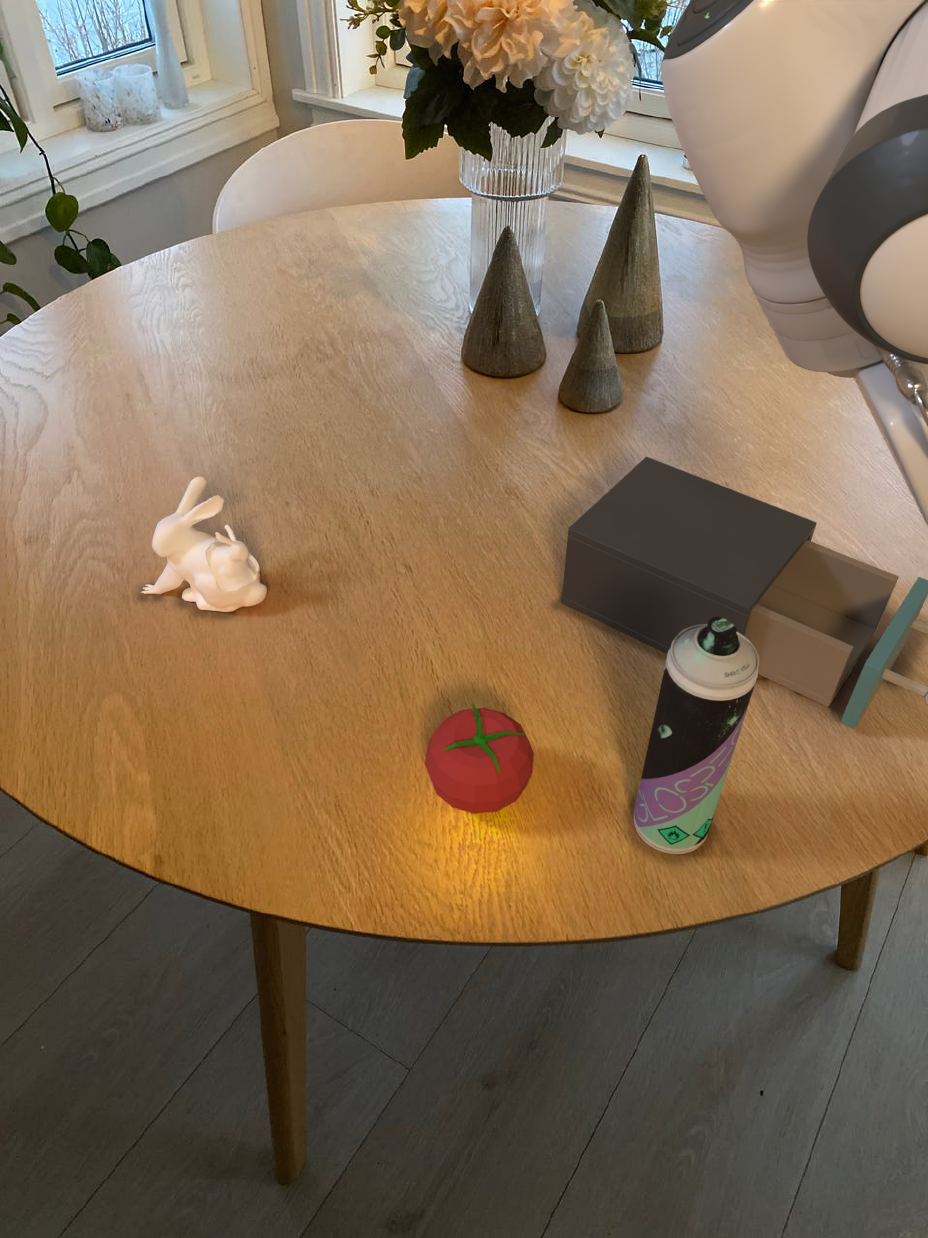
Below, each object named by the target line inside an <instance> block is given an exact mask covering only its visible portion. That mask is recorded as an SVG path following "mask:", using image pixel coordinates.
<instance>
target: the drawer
mask: <svg viewBox="0 0 928 1238" xmlns="http://www.w3.org/2000/svg"><path fill="white" fill-rule="evenodd" d="M899 578H900V577H899V575H896V574H893V573H891V572H889V571H886V570H884V569H881V568H878V567H876V566H874V565H871V564H869V563H866V562H865V561H861V560H859V559H857V558H854V557H852V556H849V555H847V554H843V553H841V552H839V551H836V550H834V549H831V548H829V547H826V546H824V545H821V544H818V543H816V542H813V541H812V540H811V541H808V540H806V541H805V543H804V544H803V545H802V546H801V548H800V549H799V550H798V552H797V553H796V554H795V555H794V557H793V558H792V559H791V560H790V562H789V563H788V564H787V566H786V567H785V568H784V569H783V571H782V572H781V573H780V575H779V576H778V577H777V578H776V580H775V581H774V582H773V583H772V585H771V586H770V587H769V589H768V590H767V591H766V592H765V594H764V595H763V596H762V598H761V599H760V600H759V601H758V603H757V604H756V605H755V607H754V608H753V609H752V610H751V614H750V617H749V621H748V624H747V628H746V631H745V635H744V636H745V637H746V638H747V639H748V640H749V641H750V642H751V643H752V644H753V646H754V647H755V649H756V651H757V653H758V656H759V667H758V676H761V677H764V678H766V679H767V680H770V681H772V682H774V683H777V684H778V685H780V686H782V687H784V688H786V689H789V690H791V691H793V692H795V693H797V694H800V695H801V696H804V697H806V698H808V699H809V700H813V701H814V702H816V703H819V704H821V705H823V706H825V707H830V705H831V703H832V702H833V700H834V699H835V697H836V696H837V694H838V693H839V691H840V689H841V688H842V686H843V684H844V683H845V681H846V680H847V678H848V677H849V675H850V674H851V672H852V670H853V669H854V668H855V665H856V664H857V662H858V661H859V659H860V657H861V656H862V654H863V653H864V651H865V650H866V648H867V646H868V645H869V644H870V642H871V640H872V638H873V637H874V635H875V634H876V632H877V631H878V628H879V625H880V622H881V621H882V618H883V616H884V613H885V611H886V609H887V606H888V604H889V601H890V600H891V597H892V594H893V592H894V589H895V587H896V585H897V583H898V580H899ZM927 598H928V579H926V578H924V577H921V576H918V577H917V578H916V580H915V582H914V583H913V585H912V586H911V588H910V590H909V592H908V593H907V595H906V596H905V598H904V600H903V601H902V602H901V604H900V606H899V607H898V609H897V611H896V612H895V614H894V615H893V617H892V619H891V620H890V623H889V624H888V626H887V627H886V629H885V630H884V631H883V633H882V635H881V636H880V638H879V640H878V642H877V644H875V646H874V647H873V650H872V651H871V653H870V655H869V656H868V657H867V659H866V661H865V663H864V665H863V667H862V668H861V669H862V670H861V672H860V674H859V677H858V679H857V681H856V683H855V686H854V688H853V691H852V693H851V696H850V698H849V700H848V702H847V704H846V707H845V709H844V712H843V714H842V716H841V719H840V724H842V725H844V726H846V727H848V728H850V729H853V730H856V728H857V726H858V724H859V723H860V721H861V720H862V718H863V717H864V714H865V713H866V711H867V710H868V709H869V706H870V704H871V703H872V701H873V700H874V697H875V696H876V694H877V692H878V691H879V690H880V687H881V686H882V684H883V683H884V681H885V680H886V681H888V682H890V683H892V684H894V685H897V686H899V687H901V688H904V689H905V690H907V691H910V692H912V693H914V694H917V695H919V696H921V697H923V698H924V701H925V704H926V705H927V706H928V686H926V685H924V684H922V683H921V682H920V683H919V682H917V681H915V680H913V679H910V678H908V677H906V676H904V675H901V674H899V673H897V672H894V671H893V670H891V669H892V667H893V665H894V664H895V662H896V660H897V659H898V657H899V655H900V654H901V652H902V650H903V648H904V647H905V645H906V643H907V641H908V639H909V637H910V635H911V633H912V631H913V629H914V630H916V631H919V632H921V633H923V634H926V635H928V623H927V622H925V621H922V620H919V619H918V617H919V615H920V613H921V610H922V609H923V606H924V604H925V602H926V599H927Z"/></svg>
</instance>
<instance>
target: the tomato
mask: <svg viewBox="0 0 928 1238" xmlns="http://www.w3.org/2000/svg"><path fill="white" fill-rule="evenodd" d="M471 706H472V708H465V709H461V710H459V711H457V712H455V713H453V714H451V715H449V716H447V717H445V718H444V719H443V720H442V721H441V722H440V724H439V725H438V726H437V727H436V728H435V730H434V731H433V732H432V734H431V736H430V738H429V741H428V743H427V746H426V747H427V748H426V754H425V760H424V766H425V769H426V771H427V774H428V777H429V779H430V782H431V783H432V787H433V789H434V791H435V794H436V795H437V796H438V797H439V798H441V799H442V800H443V801H444V802H445V803H446V804H448V805H449V806H450V807H451V808H453V809H457V810H460V811H464V812H468V813H471V814H473V815H477V814H484V813H496V812H499V811H501V810H503V809H505V808H507V807H508V806H510V805H512V804H514V803H516V802H517V801H518V800H519V798H520V796H522V794H523V792H524V791H525V789H526V788H527V786H528V784H529V782H530V779H531V777H532V776H533V773H534V772H533V770H534V756H535V752H534V750H533V747H532V744H531V742H530V740H529V738H528V736H527V734H526V732H525V730H524V729H523V726H522V724H521V723H519V722H518V721H516V720H515V719H514V718H512V717H511V716H510V715H508V714H507V713H506V712H503V711H499V710H495V709H491V708H487V707H477V706H476V704H475V703H474V702H473V703H471Z"/></svg>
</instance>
